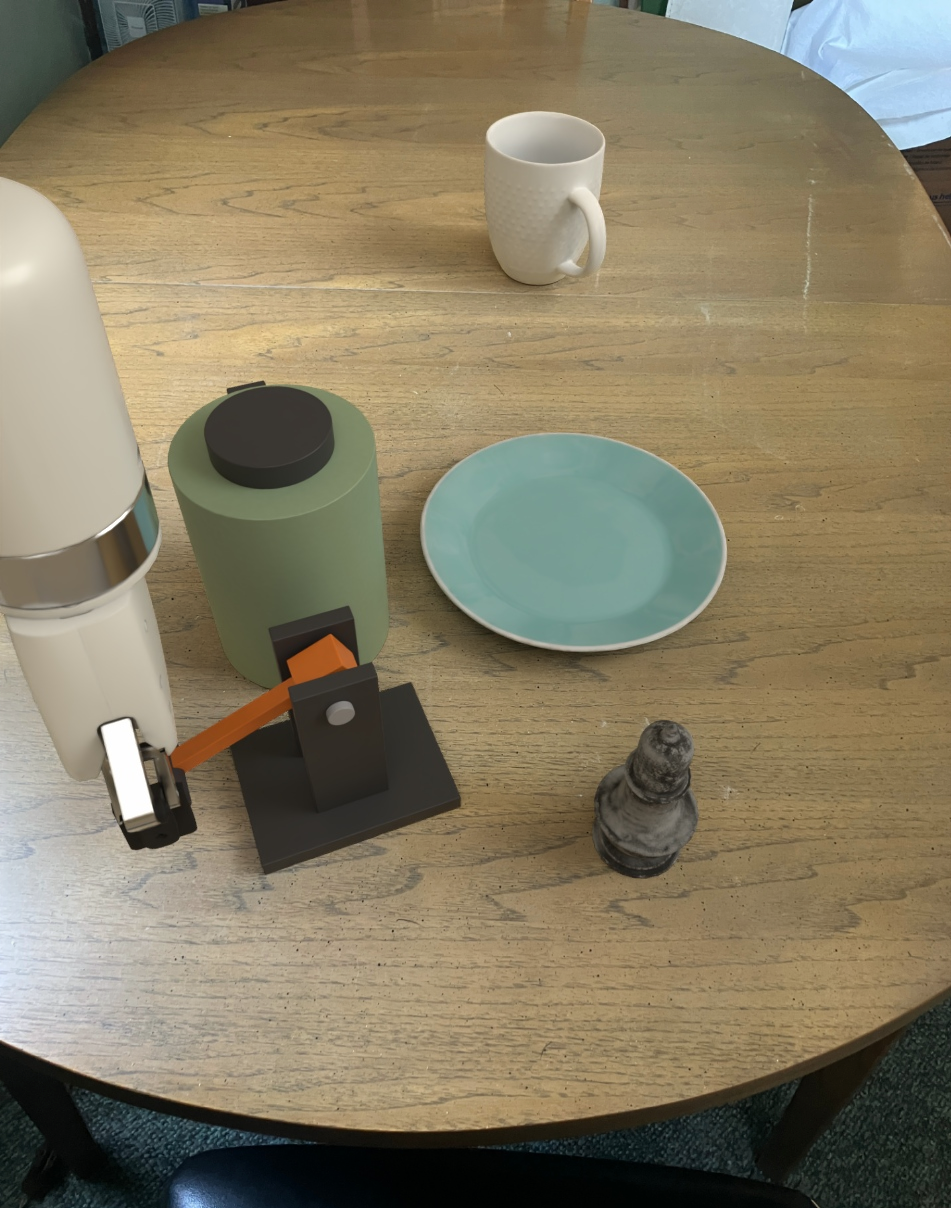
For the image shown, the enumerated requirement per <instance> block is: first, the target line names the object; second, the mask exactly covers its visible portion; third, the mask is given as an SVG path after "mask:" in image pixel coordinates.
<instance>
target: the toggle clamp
mask: <svg viewBox="0 0 951 1208" xmlns="http://www.w3.org/2000/svg"><path fill="white" fill-rule="evenodd" d="M268 631H269V635H270V639H271V643H272V647H273V651H274V656H275V660H276V664H277V668H278V672H279V677H280V681H281V683H283V682H284V681H286V680H287V679H289V678H291V677H292V676H291V673H290V670H289V667H288V664H287V660H288V659H290V658H292V657H293V656H295V655H296V654H298V653H300V652H301V651H303V650H305V649H306V648H308V647H309V646H311V645H313V644H314V643H316V642H318V641H319V640H321V639H322V638H324V637H326V636H327V635H329V634H332V635H333V636H334V637H335V638H336V639H337V640H338V641H339V642H341V643H342V644H343V645H344V646H345V647H346V648H347V649H348V650H350V651H351V652H352V653H353V656H354V659H355V661H356V664H357V666H356V667H353V668H350V669H346V670H343V671H340V672H336V673H333V674H330V675H326V676H323V677H320V678H316V679H313V680H310V681H306V682H303V683H300V684H296V685H293V686H290V687H288V692H289V697H290V701H291V705H292V708H291V709H290V710H288V711H287V715H288V719H287V720H283V721H279V722H277V723H274V724H269V725H267V726H262V727H260V728H259V729H257V730H255V731H254V732H252V733H250V734H249V735H247V736H245V737H244V738H242V739H241V740H239V741H237V742H236V743H234V744H232V745H231V746H229V747H228V748H229V750H230V754H231V757H232V761H233V765H234V769H235V772H236V776H237V780H238V784H239V788H240V790H241V794H242V798H243V802H244V807H245V810H246V813H247V817H248V821H249V824H250V828H251V833H252V836H253V840H254V843H255V847H256V850H257V854H258V858H259V861H260V865H261V869H262V871H263V874H264V875H265V876H266V875H269V874H272V873H275V872H278V871H280V870H284V869H287V868H290V867H293V866H295V865H298V864H301V863H303V862H307V861H309V860H312V859H315V858H319V857H321V856H323V855H326V854H330V853H332V852H335V851H338V850H341V849H344V848H346V847H350V846H352V845H355V844H358V843H361V842H364V841H366V840H369V839H373V838H375V837H378V836H381V835H384V834H387V833H389V832H393V831H396V830H398V829H402V828H404V827H407V826H409V825H413V824H415V823H418V822H421V821H424V820H427V819H430V818H432V817H436V816H438V815H441V814H444V813H447V812H449V811H453V810H455V809H458V808H460V807H461V806H462V796H461V794H460V792H459V790H458V787H457V785H456V782H455V779H454V778H453V775H452V772H451V770H450V768H449V766H448V764H447V762H446V759H445V757H444V754H443V752H442V749H441V747H440V745H439V743H438V741H437V738H436V735H435V734H434V731H433V729H432V726H431V724H430V722H429V720H428V717H427V715H426V713H425V710H424V708H423V706H422V704H421V701H420V699H419V697H418V693H417V691H416V690H415V686H414V685H413V682H411V681H409V682H406V683H403V684H400V685H397V686H393V687H390V688H387V689H383V690H380V683H379V675H378V673H377V670H376V668H375V666H374V663H373V661H372V662H370V663H366V664H363V665H360V660H359V652H358V644H357V636H356V628H355V620H354V616H353V614H352V611H351V609H350V606H344V607H341V608H337V609H334V610H330V611H327V612H323V613H320V614H316V615H313V616H309V617H305V618H302V619H298V620H295V621H291V622H288V623H284V624H281V625H277V626H274V627H270V628H269V629H268Z"/></svg>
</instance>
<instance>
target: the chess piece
mask: <svg viewBox="0 0 951 1208" xmlns="http://www.w3.org/2000/svg"><path fill="white" fill-rule="evenodd" d="M694 753H695V742H694V738H693V735H692V733H690V731H689V730H688V729H687V728H686V727H685V726H683V725H682V724H680V723H678V722H676V721H674V720H670V719H660V720H654V721H653V722H651V723H649V724H648V725H647V726H646V727H645V728H644V729H643V731H642V732H641V734H640V737H639V740H638V744H637V747H636V748H634V749H633V750H632V751H631V752H630V753H629V754H628V756H627V758H626V759H625V763H624V764H620V765H619V766H617V767H615V768H613V769H611V770H610V771H608V772H607V773H606V774H605V775H604V776H603V777H602V779H601V780H600V782H599V784H598V785H597V787H596V790H595V794H594V798H593V807H594V808H593V810H594V815H595V817H594V819H593V824H592V828H591V829H592V830H591V832H592V833H591V835H592V843H593V845H594V848H595V851H596V852H597V854H598V856H599V857H600V858H601V860H602V861H603V862H604V863H605V864H606V865H607V866H608V867H609V868H610V869H612V870H613V871H615V872H617V873H619V874H620V875H622V876H626V877H629V878H634V879H650V878H654V877H659V876H660V875H662V874H664V873H666V872H667V871H669V870H670V869H671V868H672V867H673V866H674V865H675V863H676V862H677V860H678V858H679V857H680V854H681V853H682V849H683V848H684V847H685V846H686V845H687V844H688V843H689V842H690V841H691V840H692V838H693V836H694V834H695V832H696V831H697V828H698V823H699V817H700V814H699V805H698V801H697V798H696V797H695V795H694V792H693V790H692V789H691V788H690V786H691V782H692V772H691V767H690V766H691V764H692V760H693V758H694V755H695V754H694Z"/></svg>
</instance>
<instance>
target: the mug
mask: <svg viewBox="0 0 951 1208" xmlns="http://www.w3.org/2000/svg"><path fill="white" fill-rule="evenodd" d="M484 141H485V142H484V159H483V163H484V165H483V169H484V170H483V172H484V173H483V183H484V184H483V196H484V204H483V205H484V215H485V220H486V228H487V232H488V237H489V243H490V244H491V249H492V252H493V254H494V257H495V258H496V260H497V263H498V264H499V266H500V267H501V269H502V270H503V272H504V273H505V274H506V275H507V276H508V277H510V279H513V280H514V281H516V282H519V283H522V284H524V285H525V284H526V285H532V286H544V285H550V284H553V283H556V282H558V281H561V280H562V279H564V278H565V277H570V278H573V279H586V278H589V277H591V276H592V275H594V274H596V273H597V272H598V271H599V269H600V268H601V266H602V265H603V263H604V260H605V256H606V252H607V251H606V250H607V227H606V222H605V217H604V214H603V210H602V207H601V205H600V203H599V200H600V197H601V189H602V183H603V180H602V179H603V175H604V160H605V152H606V150H605V149H606V138H605V136H604V134H603V132H602V131H601V130H600V129H599V128H598V127H597V126H596V125H594V124H593V123H591V122H589V121H587V120H585V119H583V118H580V117H578V116H574V115H570V114H567V113H562V112H556V111H541V110H539V111H538V110H536V111H535V110H534V111H524V112H518V113H514V114H510V115H507V116H504V117H502V118H499V119H498V120H496V121H494V122H493V123H492V124H491V125H490V126H488V128H487V131H486V133H485V138H484ZM587 245H588V256H587V261H586V263H585V265H584V267H581V266H578V265H577V263H578V262H579V260H580V258H581V257H582V255H583V253H584V251H585V248H586V247H587Z"/></svg>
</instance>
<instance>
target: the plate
mask: <svg viewBox="0 0 951 1208" xmlns="http://www.w3.org/2000/svg"><path fill="white" fill-rule="evenodd" d="M419 522H420V523H419V540H420V545H421V546H420V547H421V549H422V553H423V558H424V561H425V562H426V566H427V567H428V570H429V572H430V574H431V576H432V577H433V579H434V580H435V582H436V583H437V585H438V586H439V588H440V590H441V591H442V592H443V593H444V594H445V596H446V597H447V598H448V599H449V600H450V601H451V602H452V603H453V604H454V605H455V606H456V607H457V608H458V609H459V610H460V611H461V612H462V613H463V614H465V615H466V616H467V617H468V618H470V619H472V620H474V621H475V622H476V623H478V624H480V625H481V626H483V627H484V628H486V629H488V630H490V631H491V632H494V633H496V634H497V635H500V636H502V637H505V638H507V639H509V640H512V641H515V642H517V643H521V644H524V645H528V646H532V647H536V648H541V649H545V650H552V651H559V652H571V653H597V652H608V651H617V650H623V649H628V648H633V647H636V646H637V647H638V646H641V645H644V644H647V643H650V642H653V641H656V640H660V639H662V638H665V637H666V636H669V635H670V634H673V633H674V632H676V631H679V630H680V629H682V628H683V627H685V626H687V625H688V624H689V623H690V622H692V621H693V620H694V619H696V618H697V617H698V616H699V615H701V613H703V612H704V611H705V609H706V608H707V607H708V605H709V604H710V603H711V601H713V599H714V597H715V596H716V594H717V592H718V591H719V589H720V586H721V585H722V582H723V578H724V576H725V573H726V569H727V561H728V549H727V548H728V546H727V545H728V544H727V538H726V533H725V529H724V526H723V523H722V521H721V518H720V516H719V514H718V512H717V510H716V508H715V506H714V505H713V503H712V502H711V500H710V499H709V498H708V496H707V494H705V492H704V491H703V490H702V489H701V488H700V486H698V484H697V483H696V482H694V480H692V479H691V478H690V477H689V476H688V475H687V474H685V472H683V471H682V470H680V469H679V468H678V467H676V466H674V465H673V464H671V463H670V462H669V461H667V460H665V459H664V458H661V457H660V456H658V455H657V454H655V453H652V452H650V451H648V450H645V449H643V448H641V447H638V446H636V445H633V444H630V443H629V442H625V441H621V440H618V439H615V438H610V437H607V436H606V437H605V436H601V435H595V434H589V433H580V432H568V431H567V432H566V431H565V432H563V431H554V432H553V431H551V432H539V433H529V434H523V435H519V436H513V437H510V438H506V439H503V440H499V441H497V442H494V443H492V444H489V445H487V446H484V447H483V448H479V449H478V450H476V451H474V452H472V453H470V454H468V455H467V456H465V457H464V458H462V459H460V460H459V461H458V462H456V463H455V464H454V465H453V466H452V467H451V468H449V469H448V470H447V471H446V472H445V473H444V474H443V475H442V476H441V477H440V478H439V479H438V481H437V482H435V484H434V486H433V488H431V490H430V492H429V494H428V495H427V497H426V499H425V502H424V504H423V508H422V511H421V514H420V521H419Z"/></svg>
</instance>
